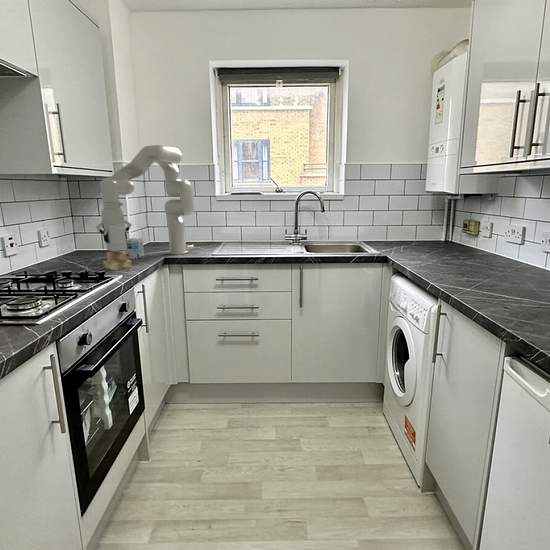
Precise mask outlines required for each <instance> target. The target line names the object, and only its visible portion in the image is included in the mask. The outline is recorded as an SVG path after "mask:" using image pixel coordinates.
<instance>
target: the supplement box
mask: <svg viewBox="0 0 550 550" xmlns="http://www.w3.org/2000/svg"><path fill="white" fill-rule="evenodd" d="M104 229H105V228H104ZM104 229H103V230H104ZM125 229H126V228H125ZM125 229H124V224H119V225H109V226H108V232H107V235H108V243H106V242H105V245H106V250H107V251H109V252H117V251H123V250H126V249H127V245H126V237H125Z"/></svg>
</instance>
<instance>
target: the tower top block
mask: <svg viewBox="0 0 550 550" xmlns="http://www.w3.org/2000/svg"><path fill="white" fill-rule="evenodd" d="M106 258H107V260H106V261H108V263H117V262H127V254H126V251H123V250H119V251H109V252H108V251H107V252H106Z"/></svg>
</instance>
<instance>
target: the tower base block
mask: <svg viewBox="0 0 550 550" xmlns="http://www.w3.org/2000/svg"><path fill="white" fill-rule="evenodd" d="M132 262H133V259H127V262H117V263H108V261H107V260H103V263H102V264H103V268H104V269H105V268H106V270H108V269H110V270H109V271H111V270H115V271H118V270H117V269H121V270H123V269H122V268H126V269H129V268H128V267H132V268H133V263H132Z"/></svg>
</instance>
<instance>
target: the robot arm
mask: <svg viewBox="0 0 550 550" xmlns="http://www.w3.org/2000/svg"><path fill="white" fill-rule="evenodd" d="M182 159H183V155H182V152H181V151H180V149H178V148H177V147H174V146H167V145H159V144H155V145H152V144H151V145H146V146H143V147H142V148H141V149H140V150H139V151H138V152H137V154H136V156H134V157H133V159H132V160H130V162H129V163H128V164H127V163H126V164H125V165H124V166H122V167H121V168H119V169H118V170H116V171H115V172H113V174H112V175H111V176H110V177H109V179H103V180H100V182H99V183H100V192H101V199H102V209H101V218H100V219H101V222H99V223H98V224H97V225H96V226H95V229H96V230H97V231H98V232H99V233H101V234H102V235H103V242H105V244H106V243H108V235H107V232H108V226H109V225H119V224H124V229H125V237H126V239H128V235H127V233H128V231H129V230H130V229H131V227H132V223H131V222H129V221H127V220H126V219H125V217H124V212H123V209H122V208H121V207H122V206H124V205H123V204H124V203H122V202H120V196H121V195H122V196H125V195H126V196H127V195H130V194H132V193H133V192H134V191H135V184H134V182H133V181H131V180H133V179H137V178H139V177H142V176H143V175H145V173H147V171H148V170H149V169H150V167H152V165H153V164H154V163H157V164H158V165H159V166H160V168H161V169H162V171H163V175H164V183H165V184H164V185H165V192H166V194H167V196H169V197H173V198H174V199H169V200H167V201H166V202H165V203H164V212H165V215H166V218H167V219H166V221H167V230H168V240H169V243H168V244H169V250H168V251H167V254H169V255H184V254H188V253H189V252H190V249H194V248H195V247H194V244H191V245H190V244H189V245H188V244H187V240H186V228H185V221H184V219H183V217H189V216H191V215H193V213H194V207H195V206H194V203H195V202H194V191H193V190H194V189H193V186H192V184H191V182H190V181H188V180H187V179H186V180H185V179H181V177H180V176H181V175H180V170H179V167H178V166H177V164H180V163H181V161H182ZM175 198H176V199H175ZM177 198H179V199H177ZM101 227H102V229H103V230H102V229H101ZM104 228H105V229H104Z"/></svg>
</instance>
